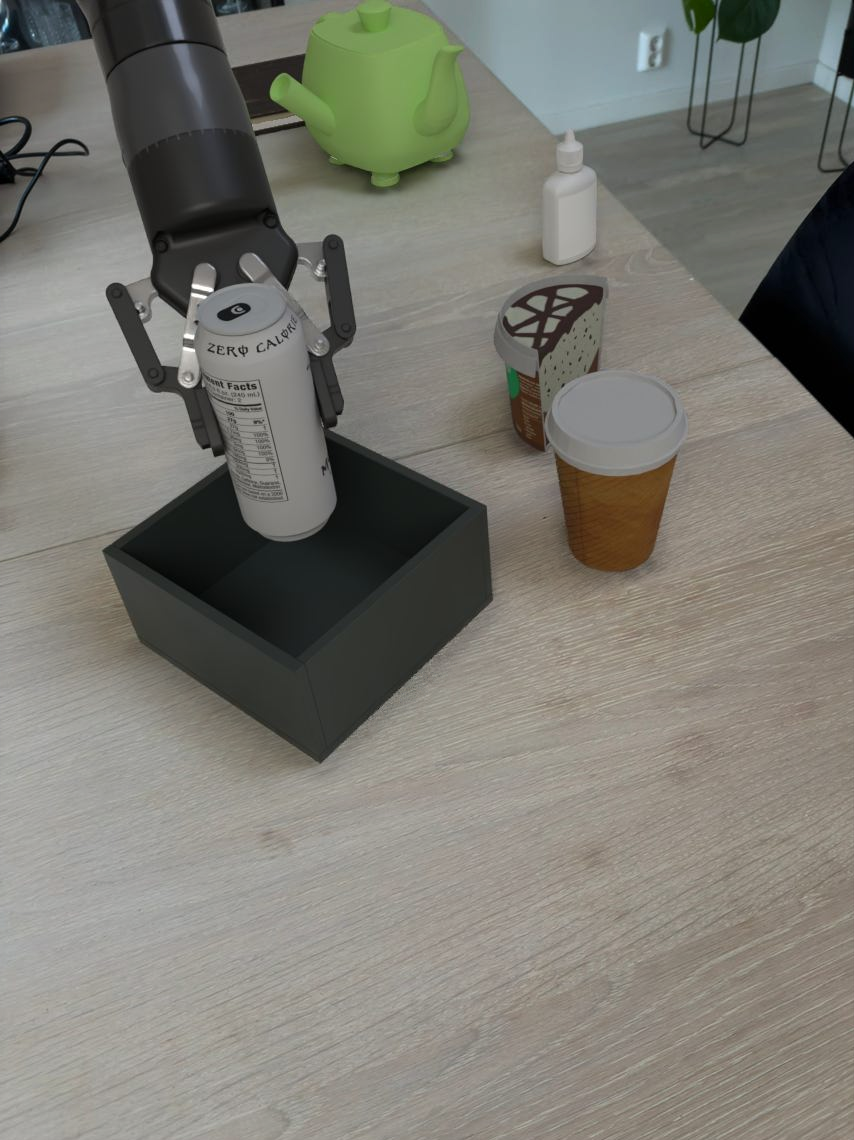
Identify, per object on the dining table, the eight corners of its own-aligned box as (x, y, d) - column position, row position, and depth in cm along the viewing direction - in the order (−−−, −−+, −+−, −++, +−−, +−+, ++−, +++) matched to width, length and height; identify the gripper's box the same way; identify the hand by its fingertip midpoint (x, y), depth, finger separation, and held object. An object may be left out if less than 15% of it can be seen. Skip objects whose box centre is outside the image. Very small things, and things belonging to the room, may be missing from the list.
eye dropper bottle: (603, 259, 110) (606, 136, 101) (547, 269, 109) (545, 145, 100) (591, 238, 113) (593, 116, 104) (536, 247, 112) (533, 125, 103)
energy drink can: (357, 516, 72) (318, 306, 60) (277, 561, 69) (221, 352, 58) (305, 472, 75) (259, 265, 64) (227, 513, 73) (165, 306, 61)
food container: (543, 362, 99) (541, 256, 91) (606, 380, 96) (609, 273, 89) (469, 440, 92) (461, 333, 84) (536, 462, 90) (533, 354, 82)
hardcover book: (356, 114, 135) (354, 95, 134) (166, 154, 131) (161, 134, 129) (323, 67, 146) (320, 48, 144) (145, 102, 141) (140, 83, 140)
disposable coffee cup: (640, 486, 87) (649, 352, 78) (700, 564, 81) (717, 428, 72) (526, 521, 85) (521, 387, 76) (579, 604, 79) (580, 469, 70)
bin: (320, 764, 71) (295, 673, 64) (139, 642, 79) (101, 550, 72) (493, 600, 80) (487, 505, 73) (315, 505, 88) (295, 412, 81)
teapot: (237, 168, 127) (204, 17, 116) (386, 106, 136) (370, -40, 125) (373, 245, 114) (351, 82, 102) (528, 171, 123) (525, 13, 111)
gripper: (52, 153, 59) (146, 462, 61) (317, 99, 62) (402, 397, 63) (75, 204, 67) (158, 480, 68) (311, 154, 69) (387, 420, 71)
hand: (276, 439), depth 66 cm, fingers closed on energy drink can, 6 cm apart
